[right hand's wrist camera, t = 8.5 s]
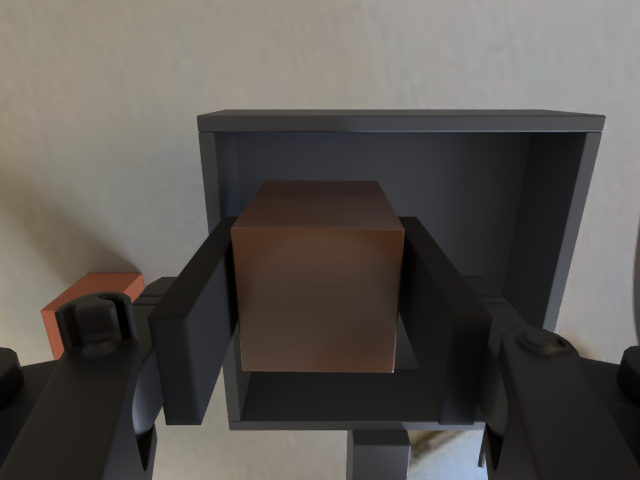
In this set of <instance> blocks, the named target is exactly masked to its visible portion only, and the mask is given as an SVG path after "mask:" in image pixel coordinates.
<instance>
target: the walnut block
mask: <svg viewBox="0 0 640 480" xmlns="http://www.w3.org/2000/svg"><path fill="white" fill-rule="evenodd" d="M404 234H405V229H404V227H403V225H402V224H401V222H400V220H399V218H398V217H397V215H396V213H395V211H394V209H393V208H392V206H391V204H390V202H389V201H388V199H387V197H386V195H385V194H384V192H383V190H382V188H381V187H380V185H379V183H378V181H277V180H266V181H264V183H263V184H262V186H261V187H260V188H259V190H258V191H257V193H256V194H255V195H254V197H253V198H252V200H251V201H250V202H249V204H248V205H247V207H246V208H245V209H244V211H243V212H242V213H241V215H240V216H239V218H238V219H237V220H236V222H235V223H234V225H233V226H232V227H231V238H232V250H233V262H234V274H235V286H236V299H237V311H238V323H239V335H240V347H241V360H242V370H243V371H295V372H381V373H393V372H394V364H395V351H396V338H397V325H398V312H399V299H400V286H401V273H402V260H403V247H404Z"/></svg>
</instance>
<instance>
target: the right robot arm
mask: <svg viewBox="0 0 640 480" xmlns="http://www.w3.org/2000/svg"><path fill="white" fill-rule="evenodd" d="M238 218H239V217H223V218H222V219H221V220H220V222H219V223H218V224H217V226H216V227H215V228H214V230H213V231H212V232H211V234H210V235H209V236H208V238H207V239H206V240H205V242H204V243H203V244H202V245H201V247H200V248H199V249H198V251H197V252H196V253H195V255H194V256H193V257H192V259H191V260H190V261H189V263H188V264H187V265H186V267H185V268H184V269H183V271H182V272H181V273H180V274H179V276H178V277H162V278H160V279H158V280H156V281H155V282H153V283H151V284H149V285H148V286H147V287H146V288H145V289H144V290H143V291H142V292H141V294H140V295H139V297H137V298H136V299H135V300H134V301H133V303H132V302H131V297H129V296H128V295H126V294H125V293H120V292H115V291H112V292H98V293H93V294H87V295H84V296H81V297H79V298H76V299H73V300H71V301H69V302H67V303H65V304H64V305H62V306H61V307H60V308H58V309H57V310H56V311H55V312H54V314H55V318H56V322H57V325H58V329H59V333H60V336H61V340H62V344H63V347H64V351H63V353H62V355H61V357H60V359H58V360H53V361H48V362H43V363H38V364H32V365H27V366H22V367H21V366H20V363H19V360H18V357H17V354H16V352H14V351H13V350H12V349H10V348H2V347H0V480H152V474H153V467H154V460H155V452H156V445H157V435H156V428H155V423H154V422H155V420H156V418H157V416H158V414H159V412H160V410H161V408H162V406H163V410H164V415H165V421H166V425H201V423H202V421H203V418H204V415H205V412H206V409H207V406H208V404H209V401H210V398H211V395H212V392H213V390H214V387H215V384H216V381H217V378H218V375H219V373H220V370H221V367H222V364H223V361H224V359H225V356H226V353H227V350H228V347H229V344H230V342H231V339H232V336H233V333H234V330H235V328H236V325H237V322H238V311H237V299H236V286H235V274H234V262H233V250H232V238H231V227H232V226H233V225H234V223H235V222H236V220H237V219H238ZM398 218H399V220H400V222H401V224H402V225H403V227H404V229H405V234H404V247H403V260H402V273H401V286H400V299H399V314H400V316H401V319H402V322H403V325H404V328H405V330H406V333H407V336H408V339H409V342H410V345H411V347H412V350H413V353H414V356H415V359H416V361H417V364H418V367H419V370H420V373H421V375H422V378H423V381H424V384H425V387H426V390H427V392H428V395H429V398H430V401H431V404H432V406H433V409H434V412H435V415H436V418H437V421H438V423H439V425H474V421H475V415H476V409H477V404H478V406H479V407H480V409H481V411H482V413H483V415H484V417H485V419H486V423H485V428H484V434H483V439H482V444H481V450H480V455H479V461H478V467H484V462H485V459H486V466H487V474H488V480H640V346H631V347H629V348H628V349H626V350H625V351H624V353H623V357H622V360H621V363H620V365H618V364H612V363H607V362H602V361H596V360H591V359H586V358H582V357H580V356H579V354H578V352H577V351H576V349H575V348H574V347H573V346H572V344H571V343H570V342H569V341H567V340H566V339H564V338H563V337H561V336H559V335H558V334H555V333H553V332H550V331H548V330H545V329H541V328H537V327H532V326H529V324H528V323H527V322H526V321H525V320H524V319H523V318H522V317H521V315H520V314H519V313H518V312H517V311H516V310H515V309H514V308H513V306H512V305H511V304H509V302H508V301H507V300H506V299H505V297H504V296H501V293H500V292H499V291H498V290H497V288H496V287H495V286H494V285H493V284H492V283H490V282H488V281H486V280H485V279H483V278H481V277H479V276H461V274H460V273H459V272H458V271H457V269H456V268H455V267H454V265H453V264H452V263H451V261H450V260H449V259H448V257H447V256H446V255H445V253H444V252H443V251H442V249H441V248H440V247H439V246H438V244H437V243H436V242H435V240H434V239H433V238H432V236H431V235H430V234H429V232H428V231H427V230H426V228H425V227H424V226H423V224H422V223H421V222H420V221H419V219H418V218H417V217H398Z"/></svg>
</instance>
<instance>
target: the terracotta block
mask: <svg viewBox="0 0 640 480" xmlns="http://www.w3.org/2000/svg"><path fill="white" fill-rule="evenodd" d="M143 290H144V284H143V278H142V273H87V274H86V275H85V276H84V277H82V278H81V279H80V280H79V281H77V282H76V283H75V284H74V285H72V286H71V287H70V288H68V289H67V290H66V291H65V292H63V293H62V294H61V295H60V296H58V297H57V298H56V299H55V300H53V301H52V302H51V303H50V304H48V305H47V306H46V307H44V308H43V309H42V310H41V314H42V317H43V321H44V324H45V328H46V332H47V335H48V339H49V342H50V346H51V349H52V353H53V356H54V360H58V359H60V357H61V355H62V353H63V351H64V347H63V344H62V340H61V336H60V333H59V329H58V325H57V322H56V318H55V314H54V312H55V311H56V310H57V309H58V308H60V307H61V306H62V305H64V304H65V303H67V302H69V301H71V300H73V299H76V298H79V297H81V296H84V295H87V294H93V293H98V292H112V291H115V292H120V293H125V294H126V295H128V296H129V297H131V302H132V303H133V301H134V300H135V299H136V298H137V297H139V295H140V294H141V292H142V291H143Z"/></svg>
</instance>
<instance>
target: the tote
mask: <svg viewBox="0 0 640 480" xmlns="http://www.w3.org/2000/svg"><path fill="white" fill-rule="evenodd" d="M605 118H606V116H604V115H595V114H584V113H573V112H562V111H551V110H222V111H217V112H212V113H207V114H203V115H198V116H197V124H198V131H199V133H198V134H199V144H200V153H201V163H202V173H203V182H204V192H205V201H206V211H207V220H208V230H209V235H210V234H211V232H212V231H213V230H214V228H215V227H216V226H217V224H218V223H219V222H220V220H221V219H222V218H223V217H239V216H240V215H241V213H242V212H243V211H244V209H245V208H246V207H247V205H248V204H249V202H250V201H251V200H252V198H253V197H254V195H255V194H256V193H257V191H258V190H259V188H260V187H261V186H262V184H263V183H264V181H266V180H277V181H378V183H379V185H380V187H381V188H382V190H383V192H384V194H385V195H386V197H387V199H388V201H389V202H390V204H391V206H392V208H393V209H394V211H395V213H396V215H397V217H417V218H418V219H419V221H420V222H421V223H422V224H423V226H424V227H425V228H426V230H427V231H428V232H429V234H430V235H431V236H432V238H433V239H434V240H435V242H436V243H437V244H438V246H439V247H440V248H441V249H442V251H443V252H444V253H445V255H446V256H447V257H448V259H449V260H450V261H451V263H452V264H453V265H454V267H455V268H456V269H457V271H458V272H459V273H460V274H461V276H479V277H481V278H483V279H485V280H486V281H488V282H490V283H492V284H493V285H494V286H495V287H496V288H497V290H498V291H499V292H500V293H501V296H504V297H505V299H506V300H507V301H508V302H509V304H511V305H512V306H513V308H514V309H515V310H516V311H517V312H518V313H519V314H520V315H521V317H522V318H523V319H524V320H525V321H526V322H527V323H528V324H529V326H532V327H537V328H541V329H545V330H548V331H550V332H553V333H554V330H555V326H556V322H557V318H558V314H559V310H560V305H561V301H562V297H563V293H564V289H565V285H566V281H567V276H568V272H569V268H570V264H571V260H572V256H573V252H574V247H575V243H576V239H577V235H578V231H579V227H580V223H581V219H582V214H583V210H584V206H585V202H586V198H587V194H588V190H589V185H590V181H591V177H592V173H593V169H594V165H595V161H596V156H597V152H598V148H599V144H600V140H601V136H602V132H601V131H602V130H603V126H604V122H605ZM223 374H224V383H225V393H226V402H227V412H228V420H229V430H348V435H347V467H346V480H407V478H408V469H409V459H410V450H411V444H410V440H409V436H408V432H407V430H484V428H485V423H486V419H485V417H484V415H483V413H482V411H481V409H480V407H479V406H478V404H477V409H476V415H475V421H474V425H439V423H438V421H437V418H436V415H435V412H434V409H433V406H432V404H431V401H430V398H429V395H428V392H427V390H426V387H425V384H424V381H423V378H422V375H421V373H420V370H419V367H418V364H417V361H416V359H415V356H414V353H413V350H412V347H411V345H410V342H409V339H408V336H407V333H406V330H405V328H404V325H403V322H402V319H401V316H400V314H399V312H398V325H397V338H396V351H395V364H394V372H393V373H381V372H295V371H243V370H242V360H241V347H240V335H239V323H238V322H237V325H236V328H235V330H234V333H233V336H232V339H231V342H230V344H229V347H228V350H227V353H226V356H225V359H224V361H223Z"/></svg>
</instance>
